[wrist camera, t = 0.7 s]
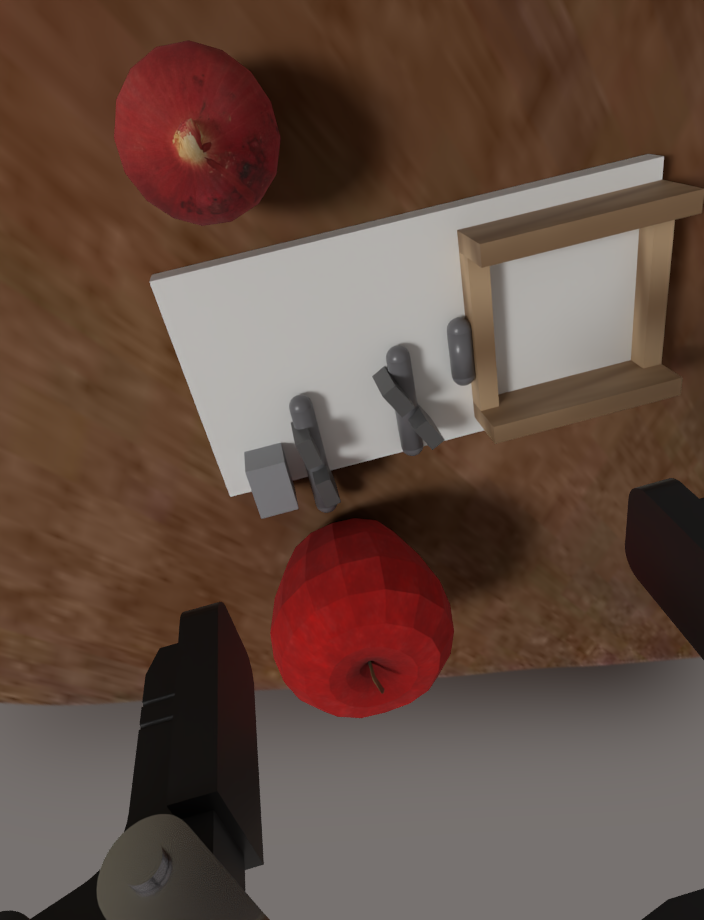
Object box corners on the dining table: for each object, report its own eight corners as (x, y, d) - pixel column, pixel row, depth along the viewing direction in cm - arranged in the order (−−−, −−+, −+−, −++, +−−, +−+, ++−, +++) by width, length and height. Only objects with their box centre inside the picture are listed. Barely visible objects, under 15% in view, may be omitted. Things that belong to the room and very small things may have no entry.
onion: (299, 114, 26) (326, 124, 19) (230, 234, 28) (232, 281, 21) (170, 12, 23) (148, -18, 16) (104, 152, 25) (60, 176, 18)
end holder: (457, 230, 28) (480, 244, 26) (662, 179, 29) (704, 188, 26) (474, 417, 33) (494, 444, 31) (646, 371, 34) (680, 395, 31)
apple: (338, 455, 35) (379, 587, 25) (448, 532, 39) (516, 669, 30) (231, 566, 37) (233, 721, 28) (344, 627, 42) (378, 778, 33)
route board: (152, 274, 28) (143, 297, 25) (648, 153, 29) (698, 161, 26) (240, 514, 35) (242, 554, 32) (631, 411, 37) (667, 440, 34)
